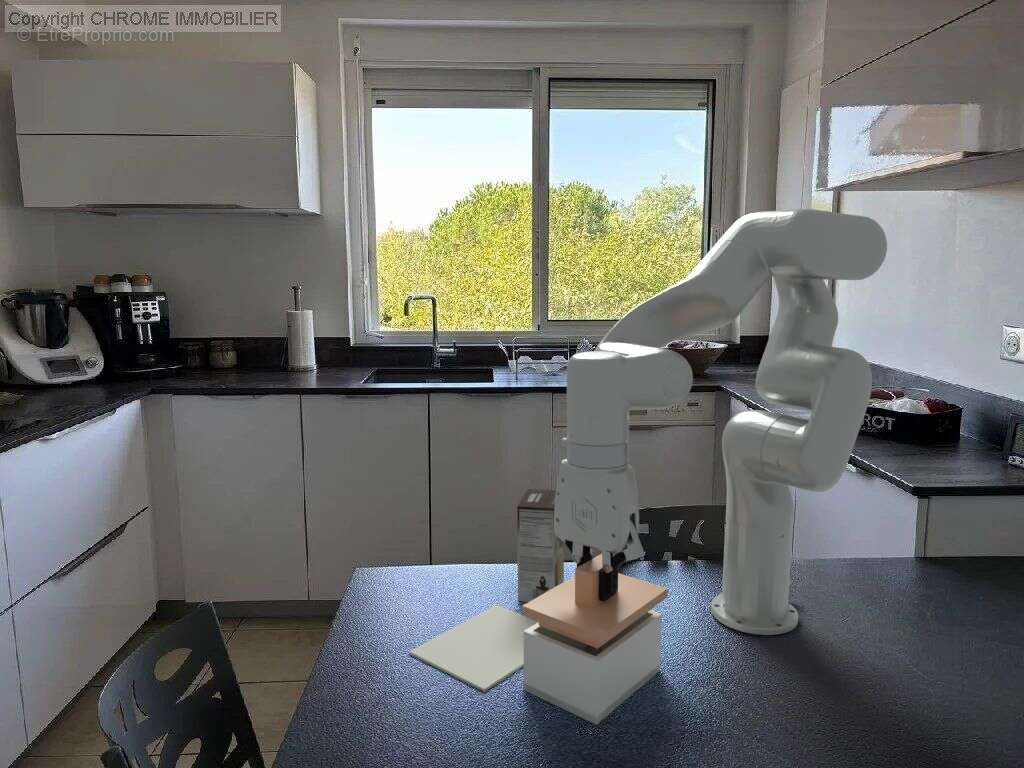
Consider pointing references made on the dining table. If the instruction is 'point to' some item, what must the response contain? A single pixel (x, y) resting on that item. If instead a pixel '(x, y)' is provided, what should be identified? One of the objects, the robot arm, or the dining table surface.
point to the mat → (479, 647)
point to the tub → (591, 667)
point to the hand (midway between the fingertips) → (597, 592)
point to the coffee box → (538, 545)
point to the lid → (593, 605)
